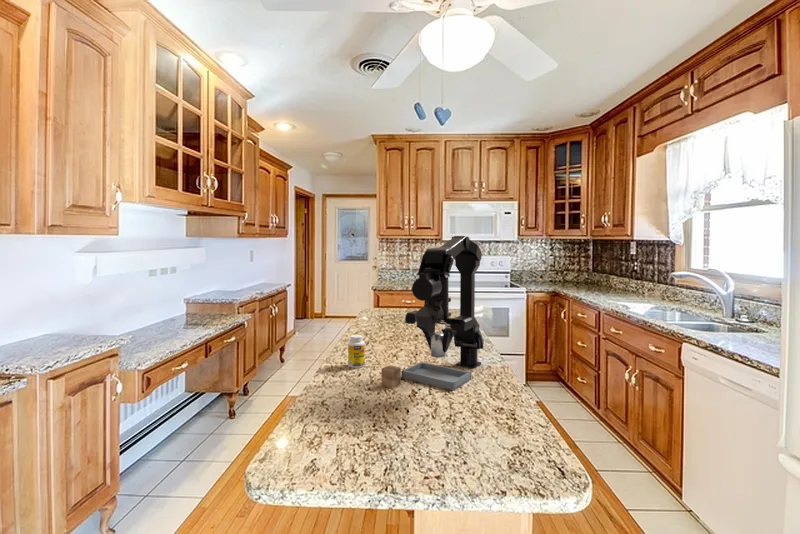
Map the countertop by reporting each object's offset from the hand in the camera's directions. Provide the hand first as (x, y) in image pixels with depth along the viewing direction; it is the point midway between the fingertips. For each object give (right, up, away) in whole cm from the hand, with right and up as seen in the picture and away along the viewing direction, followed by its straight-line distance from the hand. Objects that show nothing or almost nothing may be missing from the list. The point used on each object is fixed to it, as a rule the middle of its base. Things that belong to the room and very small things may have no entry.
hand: (438, 350), depth 110 cm
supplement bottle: (-25, -10, +24) cm, 36 cm away
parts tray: (0, -11, +11) cm, 15 cm away
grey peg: (0, -1, 0) cm, 1 cm away
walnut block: (-13, -11, +6) cm, 18 cm away
